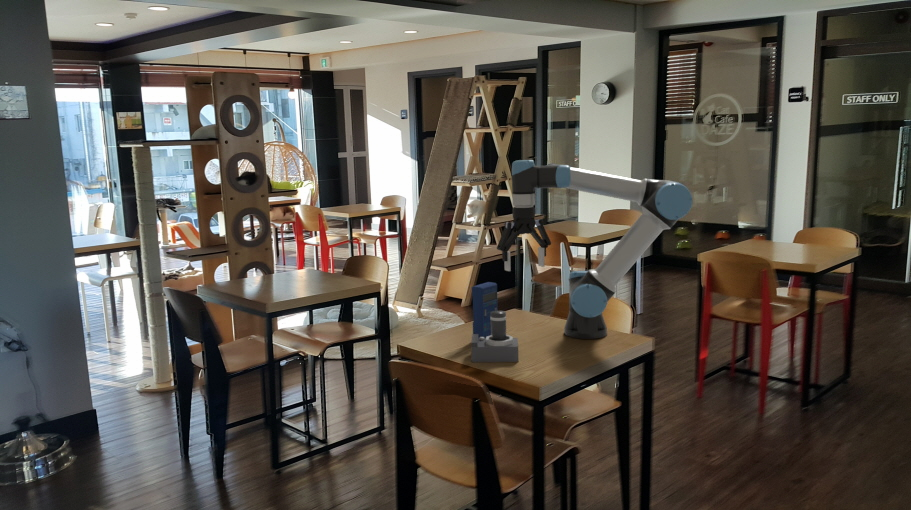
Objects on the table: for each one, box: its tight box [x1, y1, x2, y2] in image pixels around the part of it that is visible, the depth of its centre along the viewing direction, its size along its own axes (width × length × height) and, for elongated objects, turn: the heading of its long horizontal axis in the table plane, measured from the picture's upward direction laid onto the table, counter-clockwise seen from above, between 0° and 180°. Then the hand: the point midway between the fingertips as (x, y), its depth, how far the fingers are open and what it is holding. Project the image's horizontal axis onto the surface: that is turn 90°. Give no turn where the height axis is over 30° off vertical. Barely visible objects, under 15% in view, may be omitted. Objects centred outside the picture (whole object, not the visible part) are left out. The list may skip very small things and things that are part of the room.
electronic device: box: [471, 281, 499, 338], centre depth 251 cm, size 10×5×20 cm, turn 141°
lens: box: [490, 310, 507, 341], centre depth 230 cm, size 5×5×10 cm
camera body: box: [470, 333, 519, 363], centre depth 231 cm, size 15×10×6 cm, turn 86°
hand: (524, 268), depth 241 cm, fingers open, 13 cm apart
